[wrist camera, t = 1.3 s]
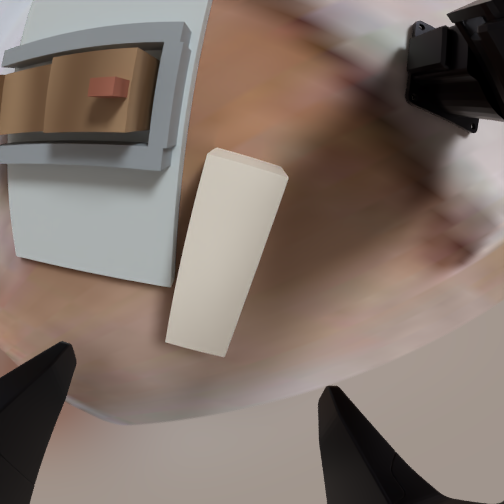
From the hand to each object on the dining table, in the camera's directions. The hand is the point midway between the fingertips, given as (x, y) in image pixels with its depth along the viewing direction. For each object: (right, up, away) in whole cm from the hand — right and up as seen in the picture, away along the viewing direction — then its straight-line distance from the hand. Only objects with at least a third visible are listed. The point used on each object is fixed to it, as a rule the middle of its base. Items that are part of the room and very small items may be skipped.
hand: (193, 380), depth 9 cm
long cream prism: (0, +5, +11) cm, 12 cm away
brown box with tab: (-9, +14, +5) cm, 17 cm away
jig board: (-9, +13, +6) cm, 17 cm away
